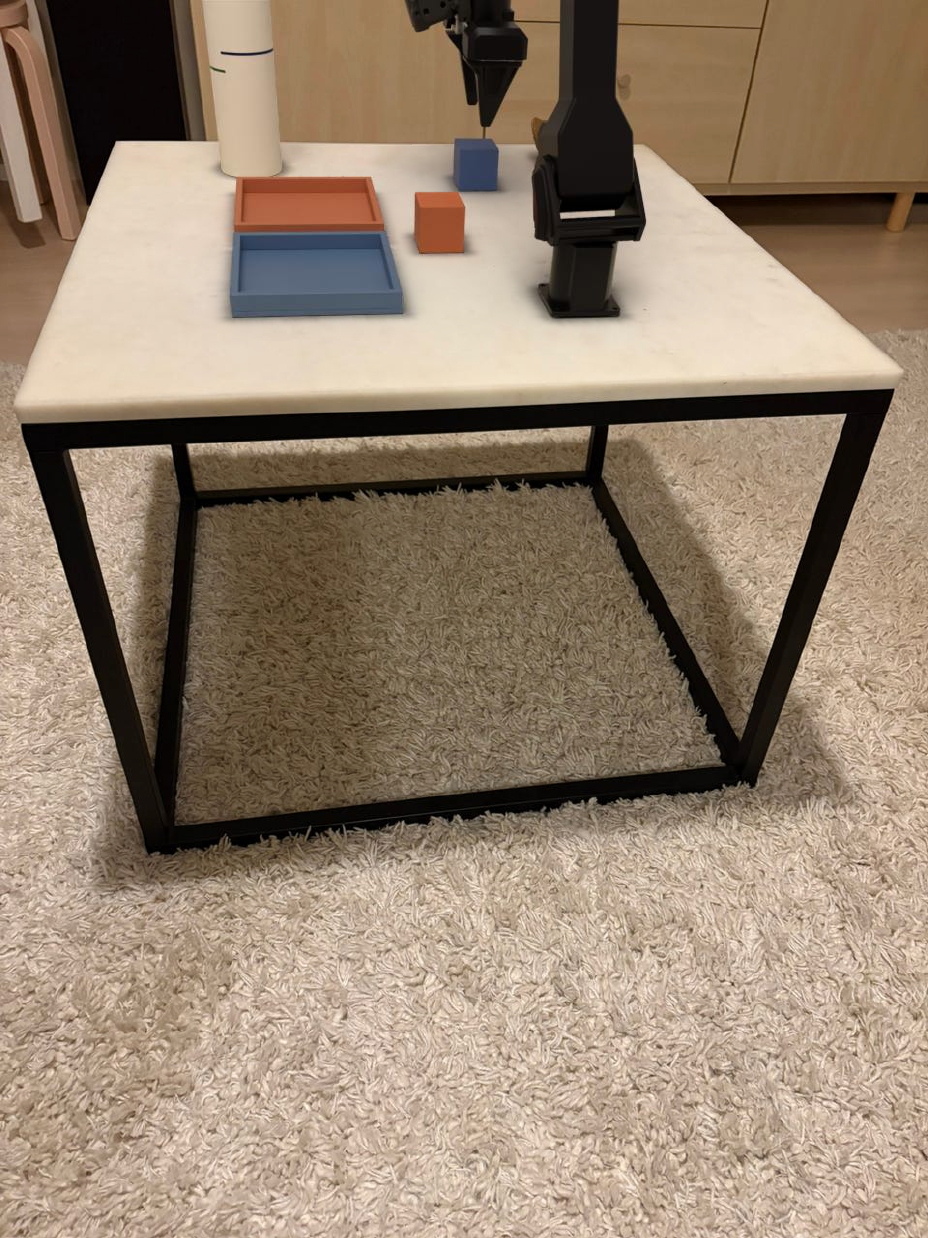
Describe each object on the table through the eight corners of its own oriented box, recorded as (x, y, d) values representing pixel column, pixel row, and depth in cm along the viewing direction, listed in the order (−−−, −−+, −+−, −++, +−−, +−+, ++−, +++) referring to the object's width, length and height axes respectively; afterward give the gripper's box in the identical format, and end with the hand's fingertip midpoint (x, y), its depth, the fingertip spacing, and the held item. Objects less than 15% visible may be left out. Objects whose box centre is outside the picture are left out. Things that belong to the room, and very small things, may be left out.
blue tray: (402, 313, 84) (402, 291, 83) (232, 317, 82) (229, 294, 80) (386, 250, 95) (386, 230, 94) (235, 252, 93) (233, 232, 91)
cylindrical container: (270, 180, 109) (247, -87, 93) (211, 174, 110) (179, -93, 93) (290, 163, 115) (272, -93, 98) (235, 156, 115) (208, -99, 99)
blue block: (496, 190, 111) (499, 149, 108) (458, 190, 110) (460, 149, 107) (489, 178, 114) (492, 138, 111) (452, 178, 113) (454, 137, 110)
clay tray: (384, 243, 96) (384, 223, 95) (235, 244, 94) (233, 224, 93) (371, 194, 107) (371, 176, 106) (238, 195, 105) (236, 176, 104)
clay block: (463, 252, 96) (465, 206, 93) (419, 253, 95) (420, 206, 92) (456, 236, 99) (458, 191, 96) (414, 236, 98) (414, 191, 95)
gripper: (398, -67, 102) (398, 93, 112) (420, -42, 88) (417, 138, 99) (499, -63, 104) (490, 95, 114) (535, -38, 90) (521, 139, 100)
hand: (478, 115), depth 107 cm, fingers open, 9 cm apart
